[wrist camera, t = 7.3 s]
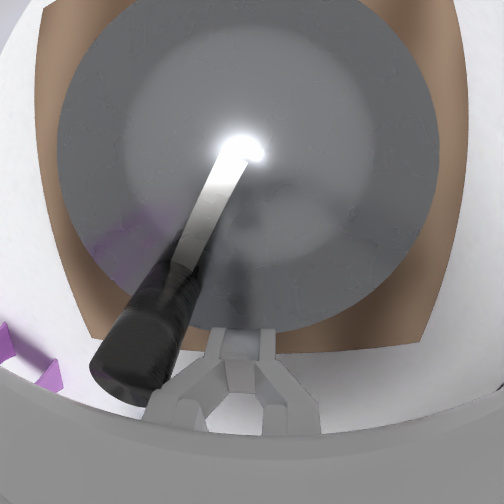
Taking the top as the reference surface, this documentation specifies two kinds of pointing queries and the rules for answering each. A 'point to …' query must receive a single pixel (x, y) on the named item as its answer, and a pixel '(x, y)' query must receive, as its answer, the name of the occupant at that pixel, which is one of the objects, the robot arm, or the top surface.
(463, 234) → the top surface
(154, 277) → the grey round disc
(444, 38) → the base plate
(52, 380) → the toy chair
